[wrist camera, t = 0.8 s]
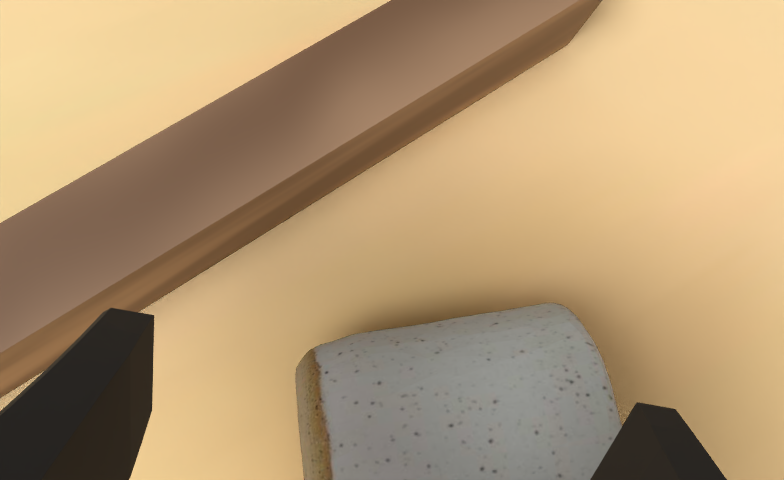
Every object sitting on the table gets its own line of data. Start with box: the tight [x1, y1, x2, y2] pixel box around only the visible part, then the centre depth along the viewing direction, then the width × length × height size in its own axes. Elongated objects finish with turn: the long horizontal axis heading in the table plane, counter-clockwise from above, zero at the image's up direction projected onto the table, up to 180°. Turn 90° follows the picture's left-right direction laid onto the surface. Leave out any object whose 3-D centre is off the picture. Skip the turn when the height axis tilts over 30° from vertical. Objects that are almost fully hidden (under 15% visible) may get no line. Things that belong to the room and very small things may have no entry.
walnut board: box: [0, 0, 602, 398], centre depth 23 cm, size 3×26×5 cm, turn 124°
